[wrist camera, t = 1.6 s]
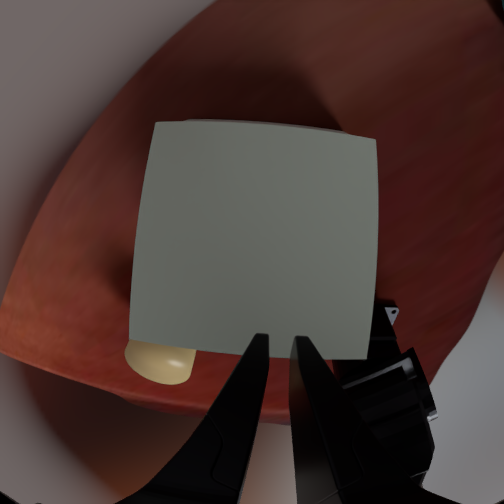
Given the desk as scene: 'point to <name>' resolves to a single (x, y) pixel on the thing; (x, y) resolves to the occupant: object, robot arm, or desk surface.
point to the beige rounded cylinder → (160, 361)
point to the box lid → (256, 239)
